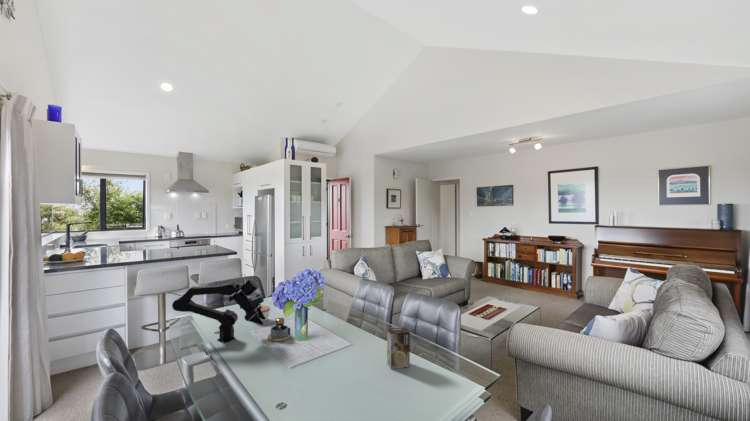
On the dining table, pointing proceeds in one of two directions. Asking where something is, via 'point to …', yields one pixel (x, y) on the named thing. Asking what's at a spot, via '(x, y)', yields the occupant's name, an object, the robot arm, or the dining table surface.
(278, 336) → the press body
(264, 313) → the lidded jar
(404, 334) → the coffee box
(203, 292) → the robot arm
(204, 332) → the dining table surface
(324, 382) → the dining table surface
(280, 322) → the plunger
